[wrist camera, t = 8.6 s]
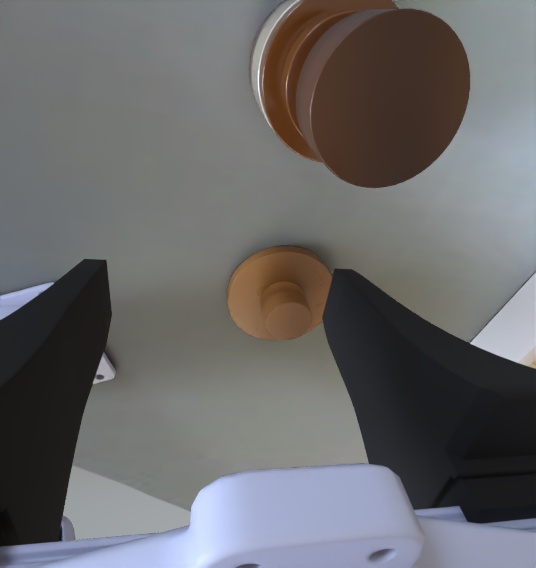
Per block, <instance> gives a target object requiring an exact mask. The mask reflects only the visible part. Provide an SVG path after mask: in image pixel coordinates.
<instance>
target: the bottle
mask: <svg viewBox="0 0 536 568" xmlns="http://www.w3.org/2000/svg"><path fill="white" fill-rule="evenodd" d="M370 9H399V8H398V7H397V6H396V5H395V4H394V3H393V2H392V1H391V0H285V1H283V2H282V3H281V4H279V5H278V6H277V7H276V8H275V9H274V10H273V11H272V12H271V13H270V14H269V15H268V17H267V18H266V19H265V20H264V22H263V24H262V25H261V27H260V29H259V31H258V33H257V35H256V37H255V40H254V43H253V46H252V50H251V56H250V65H249V73H250V83H251V88H252V92H253V95H254V98H255V100H256V102H257V105H258V106H259V109H260V110H261V112H262V114H263V116H264V117H265V119H266V120H267V122H268V124H269V125H270V127H271V128H272V129H273V131H274V132H275V133H276V135H277V136H278V137H279V138H280V139H281V141H282V142H283V143H284V144H285V145H286V146H287V147H288V148H290V149H291V150H292V151H294V152H295V153H297V154H299V155H300V156H302V157H304V158H307V159H310V160H313V161H317V162H322V161H321V160H320V158H319V157H318V156H317V155H316V154H315V152H314V151H313V150H312V149H311V148H310V146H309V145H308V143H307V142H306V140H305V138H304V137H303V135H302V132H301V130H300V127H299V124H298V120H297V115H296V89H297V83H298V79H299V75H300V72H301V69H302V67H303V64H304V62H305V60H306V58H307V56H308V54H309V52H310V51H311V49H312V48H313V46H314V45H315V43H316V42H317V41H318V40H319V39H320V37H321V36H322V35H323V34H324V33H325V32H326V31H327V30H328V29H329V28H330V27H332V26H333V25H334V24H336V23H337V22H339V21H340V20H342V19H344V18H345V17H347V16H349V15H351V14H354V13H357V12H360V11H365V10H370Z"/></svg>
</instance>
